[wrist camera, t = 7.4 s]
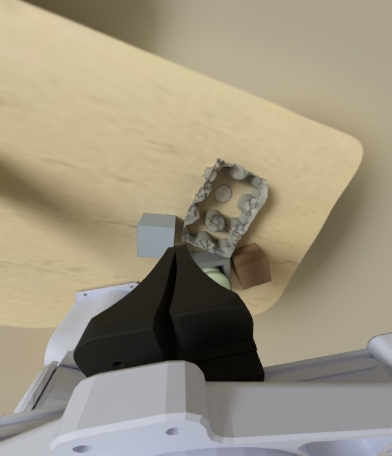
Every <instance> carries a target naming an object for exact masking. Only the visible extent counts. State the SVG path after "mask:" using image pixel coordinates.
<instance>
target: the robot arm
mask: <svg viewBox="0 0 392 456" xmlns="http://www.w3.org/2000/svg"><path fill="white" fill-rule="evenodd" d="M75 296H76V298H77V300H76V302H75V303H74V305H73V306H72V308H71V309H70V311H69V312H68V313H67V315H66V316H65V318H64V319H63V321H62V322H61V324H60V325H59V327H58V328H57V330H56V331H55V332H54V334H53V335H52V337H51V339H50V341H49V343H48V346H47V349H46V353H45V359H44V362H45V366H44V367H43V368H42V369H41V371H40V372H39V373H38V375H37V376H36V378H35V379H34V381H33V382H32V384H31V386H30V387H29V389H28V390H27V392H26V393H25V395H24V397H23V398H22V400H21V401H20V403H19V405H18V406H17V408H16V409H15V411H14V413H13V414H9V415H3V416H0V456H392V332H391V333H385V334H380V335H377V336H374V337H372V338H371V339H370V340H369V341H368V344H367V348H366V349H361V350H355V351H350V352H345V353H339V354H334V355H328V356H323V357H317V358H312V359H307V360H301V361H296V362H291V363H285V364H280V365H275V366H269V367H262V364H261V362H260V359H259V357H258V354H257V348H256V344H255V342H254V339H253V319H252V316H251V314H250V312H249V310H248V309H247V307H246V305H245V304H244V302H243V301H242V299H241V298H240V297H239V295H238V294H237V293H235V292H233V291H231V290H229V289H227V288H225V287H223V286H222V285H220V284H218V283H217V282H216V281H214V280H213V279H212V278H210V277H209V276H208V275H207V274H206V273H205V272H204V271H203V270H202V269H201V268H200V267H199V266H198V265H197V264H196V262H195V261H194V260H193V258H192V257H191V255H190V254H189V252H188V249H187V246H186V245H180V246H174V247H168V248H167V250H166V251H165V253H164V254H163V256H162V257H161V259H160V260H159V262H158V263H157V264H156V266H155V267H154V268H153V270H152V271H151V272H150V273H149V274H148V276H147V277H146V278H145V279H144V280H143V281H142V282H141V283H140V284H139V283H137V282H134V283H128V284H122V285H116V286H110V287H104V288H98V289H92V290H86V291H80V292H77V293H76V294H75Z"/></svg>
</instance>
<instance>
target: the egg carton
mask: <svg viewBox="0 0 392 456" xmlns="http://www.w3.org/2000/svg"><path fill="white" fill-rule="evenodd" d="M223 167H226V173H227V174H228V175H229V176H230V177H231V178H233V179H236V180H243V179H245V178H247V177H248V176H249V175H250V184H251V185H252V186H253V187H254V189H253V191H252V193H251V194H245V195H243V196H241V197H240V198H239V199H238V203H237V206H238V208H239V209H240V210H241V214H240V216H239V217H238V218H231V219H230V220H228V222H227V224H226V229H227V231H228V232H229V234H230V235H229V236H228V238H223V239H220V240H219V241H218V242H217V243H215V242H212V239H211V236H210V235H209V233H208V232H206V231H201V232H198V233H197V234H196V235H195V236H192V235H189V231H188V228H187V226H186V225H189V224H193V223H194V222H196V221H197V220H198V219H200V214H199V209H198V207H197V205H196V204H195V203H196V202H201V201H204V199H205V198H206V197H208V196H209V195H210V192H212V191H213V187H212V183H213V181H214V180H215V178H216V176H217V174H218V172H219V171H220V170H221V169H222V168H223ZM203 176H204V177H205V178H206V182H205V184H204V185H203V187H201V188H200V189H199V192H198V194H195V197H194V200H193V202H192V204H191V206H190V208H189V210H188V213H187V216H186V219H185V221H184V226H183V229H182V231H181V234H182V237H181V241H182V242H188V243H190V244H192V245H193V246H195V247H199V248H202V249H204V250H207V251H209V252H212V253H217V254H219V255H221V256H223V257H226V258H230V257H231V255H232V253H233V251H234V249H235V248H236V245H237V243H238V241H239V240H241V236H242V235H243V234H245V233H246V232H247V230H248V227H249V225H250V224H251V222H252V221H253V220H254V217H255V215H256V214H257V212H258V211H259V210H260V209H261V207H262V206H263V205H264V203H265V202H266V200H267V197H268V184H267V181H266V180H265V179H263V178H260V177H258V176H257V175H255V174H253V173H251V172H250V173H249V172H248V171H246V170H245V169H244V168H243V167H241V166H239V165H237V164H235V163H234V165H232V164H229V163H227V162H225V161H223V160H221V159H217V162H216V163H215V165H214V166H213V167H207V168H206V169H205V171H204V174H203ZM231 196H232V191H231V188H230V187H229V186H227V185H221V186H219V187H217V189H216V190H215V193H214V197H215V199H216V200H217V201H218V202H221V203H224V202H227V201H228V200H229V199H230V198H231ZM204 222H205V225H206V227H207V229H208V230H210V231H211V232H213V233H215V232H220V231H222V230H223V229H224V228H225V221H224V219H223V217H222V216H221V214H220V213H219V212H218V211H217V210H214V209H211V210H209V211H207V212H206V213H205V215H204Z"/></svg>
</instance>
